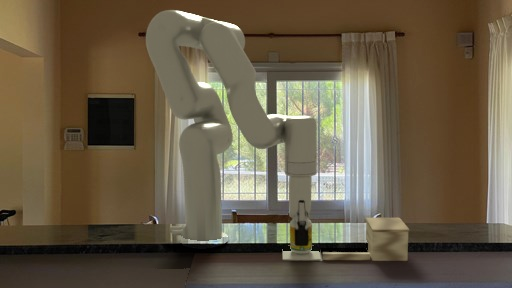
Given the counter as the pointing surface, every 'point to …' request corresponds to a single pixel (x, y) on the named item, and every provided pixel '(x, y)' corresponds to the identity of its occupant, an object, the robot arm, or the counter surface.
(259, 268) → the counter surface
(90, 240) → the counter surface
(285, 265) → the counter surface
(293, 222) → the supplement bottle
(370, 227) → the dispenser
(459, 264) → the counter surface
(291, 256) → the mat
